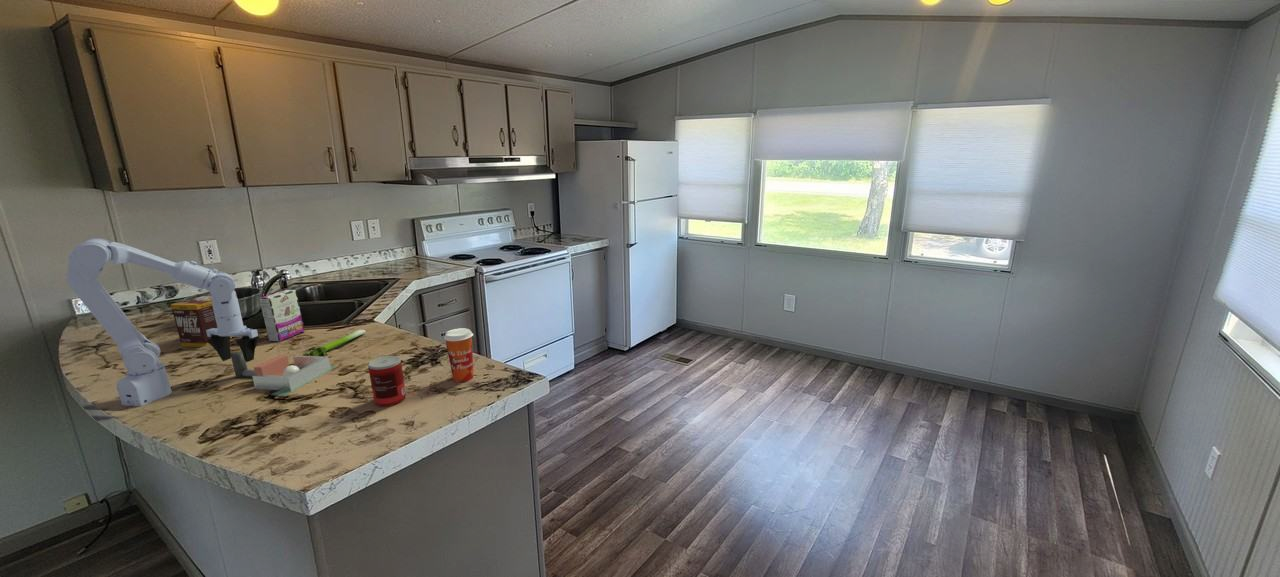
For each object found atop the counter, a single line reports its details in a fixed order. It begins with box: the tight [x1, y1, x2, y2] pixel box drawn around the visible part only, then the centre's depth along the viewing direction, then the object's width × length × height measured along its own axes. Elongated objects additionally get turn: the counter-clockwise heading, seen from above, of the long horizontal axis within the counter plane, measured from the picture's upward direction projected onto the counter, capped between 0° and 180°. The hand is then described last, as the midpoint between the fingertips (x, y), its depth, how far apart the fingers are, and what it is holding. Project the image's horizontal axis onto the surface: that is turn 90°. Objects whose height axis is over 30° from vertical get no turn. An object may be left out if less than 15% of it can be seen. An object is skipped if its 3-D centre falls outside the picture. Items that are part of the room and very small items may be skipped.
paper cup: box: [443, 327, 474, 383], centre depth 145 cm, size 8×8×14 cm
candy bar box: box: [259, 289, 306, 343], centre depth 184 cm, size 11×5×16 cm, turn 168°
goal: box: [252, 355, 331, 392], centre depth 146 cm, size 15×11×4 cm
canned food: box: [367, 355, 407, 407], centre depth 133 cm, size 8×8×11 cm
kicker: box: [230, 351, 290, 379], centre depth 147 cm, size 9×13×7 cm
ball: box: [282, 364, 300, 376], centre depth 146 cm, size 4×4×4 cm
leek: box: [300, 329, 367, 357], centre depth 172 cm, size 6×7×30 cm
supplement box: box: [170, 294, 237, 348], centre depth 183 cm, size 10×15×16 cm
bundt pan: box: [180, 286, 264, 319], centre depth 210 cm, size 26×26×10 cm
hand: (238, 360), depth 147 cm, fingers open, 7 cm apart
